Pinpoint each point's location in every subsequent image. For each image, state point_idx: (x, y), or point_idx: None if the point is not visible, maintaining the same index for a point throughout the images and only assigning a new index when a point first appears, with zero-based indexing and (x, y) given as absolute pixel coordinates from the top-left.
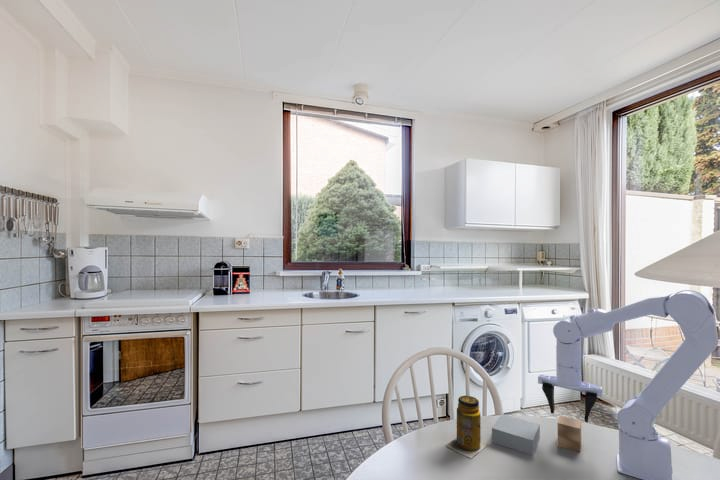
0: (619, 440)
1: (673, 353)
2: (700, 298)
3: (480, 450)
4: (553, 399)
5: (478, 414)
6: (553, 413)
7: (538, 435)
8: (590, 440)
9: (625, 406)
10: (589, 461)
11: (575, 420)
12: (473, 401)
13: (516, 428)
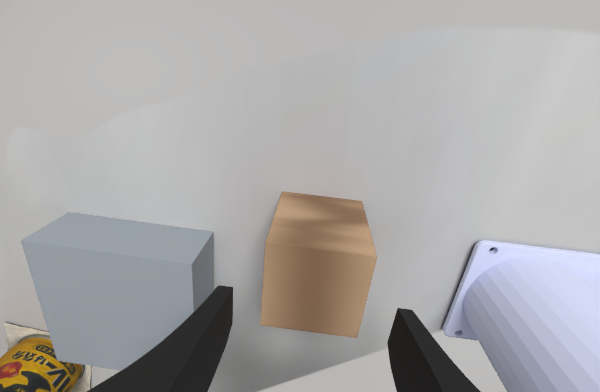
0: (509, 381)
1: None
2: None
3: (90, 369)
4: (201, 359)
5: None
6: (231, 323)
7: (205, 269)
8: (404, 156)
9: None
10: (369, 305)
11: (346, 267)
12: None
13: (125, 333)
